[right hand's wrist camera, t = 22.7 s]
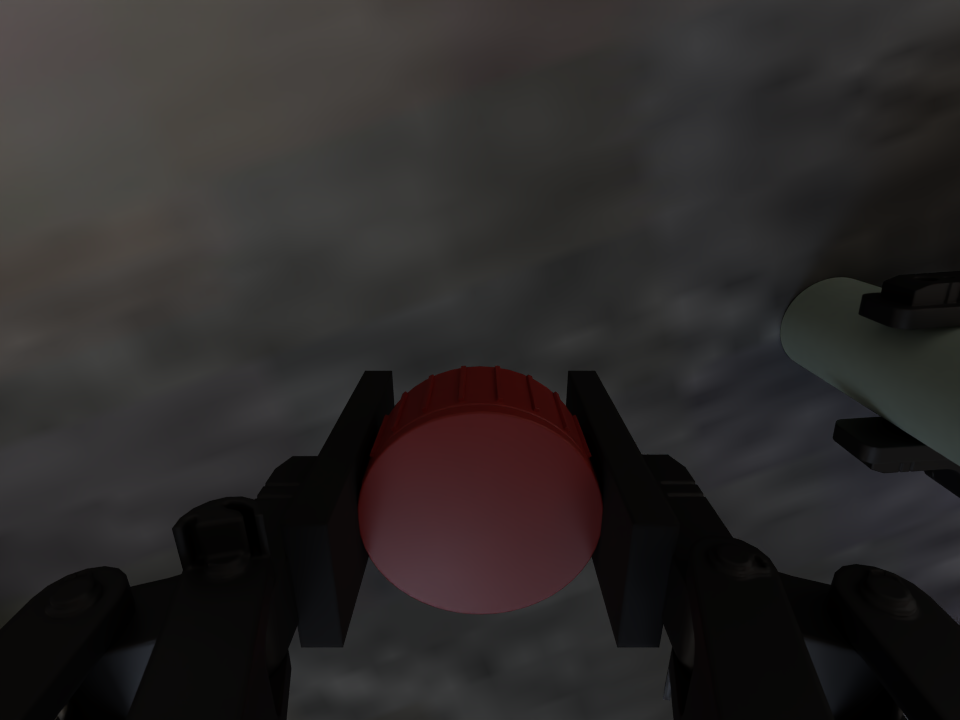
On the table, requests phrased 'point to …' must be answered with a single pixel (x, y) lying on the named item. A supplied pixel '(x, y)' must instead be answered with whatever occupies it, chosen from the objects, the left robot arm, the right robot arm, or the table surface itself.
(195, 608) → the right robot arm
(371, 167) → the table surface
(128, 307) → the table surface
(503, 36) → the table surface
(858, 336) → the bottle
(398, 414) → the lid
